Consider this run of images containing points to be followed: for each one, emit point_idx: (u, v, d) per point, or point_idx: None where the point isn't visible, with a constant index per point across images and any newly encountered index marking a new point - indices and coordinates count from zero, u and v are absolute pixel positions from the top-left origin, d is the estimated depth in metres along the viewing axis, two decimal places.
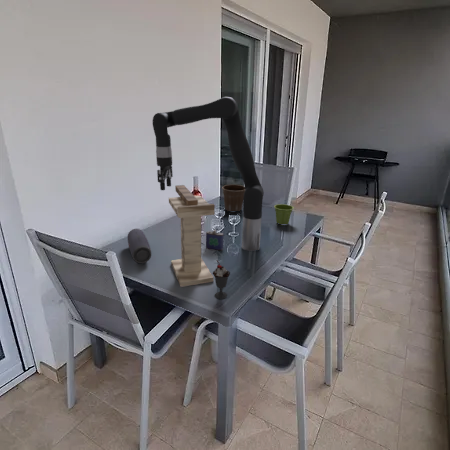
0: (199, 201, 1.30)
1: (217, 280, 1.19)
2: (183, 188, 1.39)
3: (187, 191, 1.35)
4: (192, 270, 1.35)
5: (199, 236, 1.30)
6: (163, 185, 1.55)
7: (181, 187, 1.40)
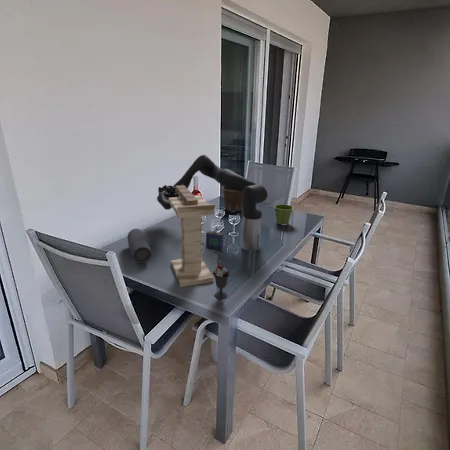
0: (199, 201, 1.30)
1: (217, 280, 1.19)
2: (183, 188, 1.39)
3: (187, 191, 1.35)
4: (192, 270, 1.35)
5: (199, 236, 1.30)
6: None
7: (181, 187, 1.40)
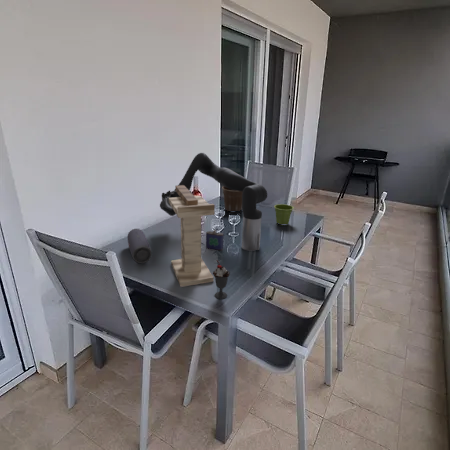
0: (199, 201, 1.30)
1: (217, 280, 1.19)
2: (183, 188, 1.39)
3: (187, 191, 1.35)
4: (192, 270, 1.35)
5: (199, 236, 1.30)
6: None
7: (181, 187, 1.40)
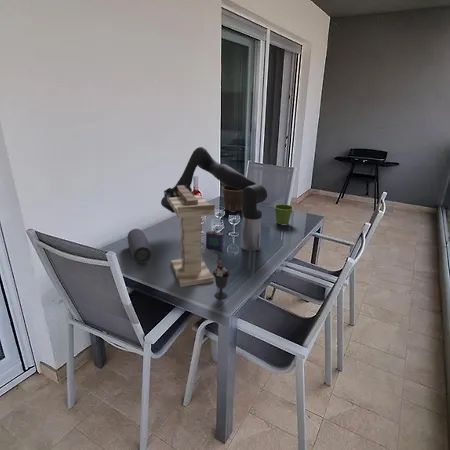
0: (199, 201, 1.30)
1: (217, 280, 1.19)
2: (183, 188, 1.39)
3: (187, 191, 1.35)
4: (192, 270, 1.35)
5: (199, 236, 1.30)
6: (174, 187, 1.42)
7: (181, 187, 1.40)
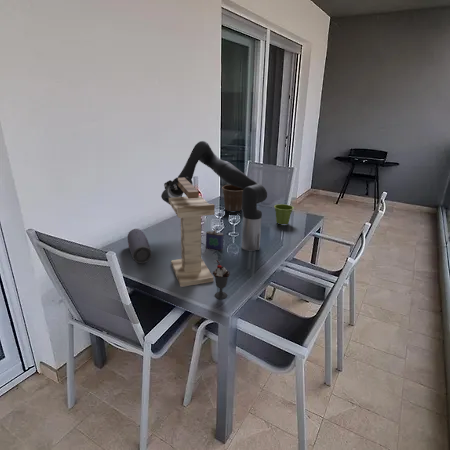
0: (199, 201, 1.30)
1: (217, 280, 1.19)
2: (184, 180, 1.36)
3: (188, 183, 1.32)
4: (192, 270, 1.35)
5: (199, 236, 1.30)
6: None
7: (182, 180, 1.37)
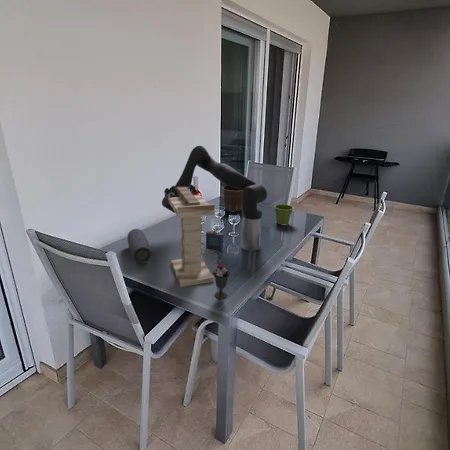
0: (199, 201, 1.30)
1: (217, 280, 1.19)
2: (184, 190, 1.37)
3: (189, 193, 1.32)
4: (192, 270, 1.35)
5: (199, 236, 1.30)
6: None
7: (183, 189, 1.38)
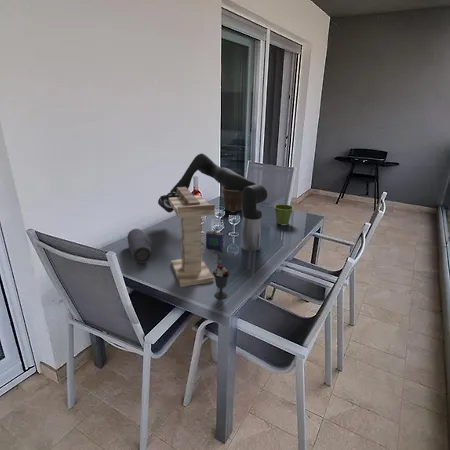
0: (199, 201, 1.30)
1: (217, 280, 1.19)
2: (184, 190, 1.37)
3: (189, 193, 1.32)
4: (192, 270, 1.35)
5: (199, 236, 1.30)
6: (165, 196, 1.54)
7: (183, 189, 1.38)
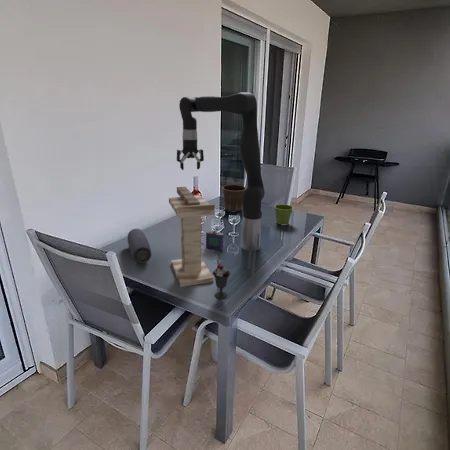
0: (199, 201, 1.30)
1: (217, 280, 1.19)
2: (184, 190, 1.37)
3: (189, 193, 1.32)
4: (192, 270, 1.35)
5: (199, 236, 1.30)
6: (181, 165, 1.67)
7: (183, 189, 1.38)
